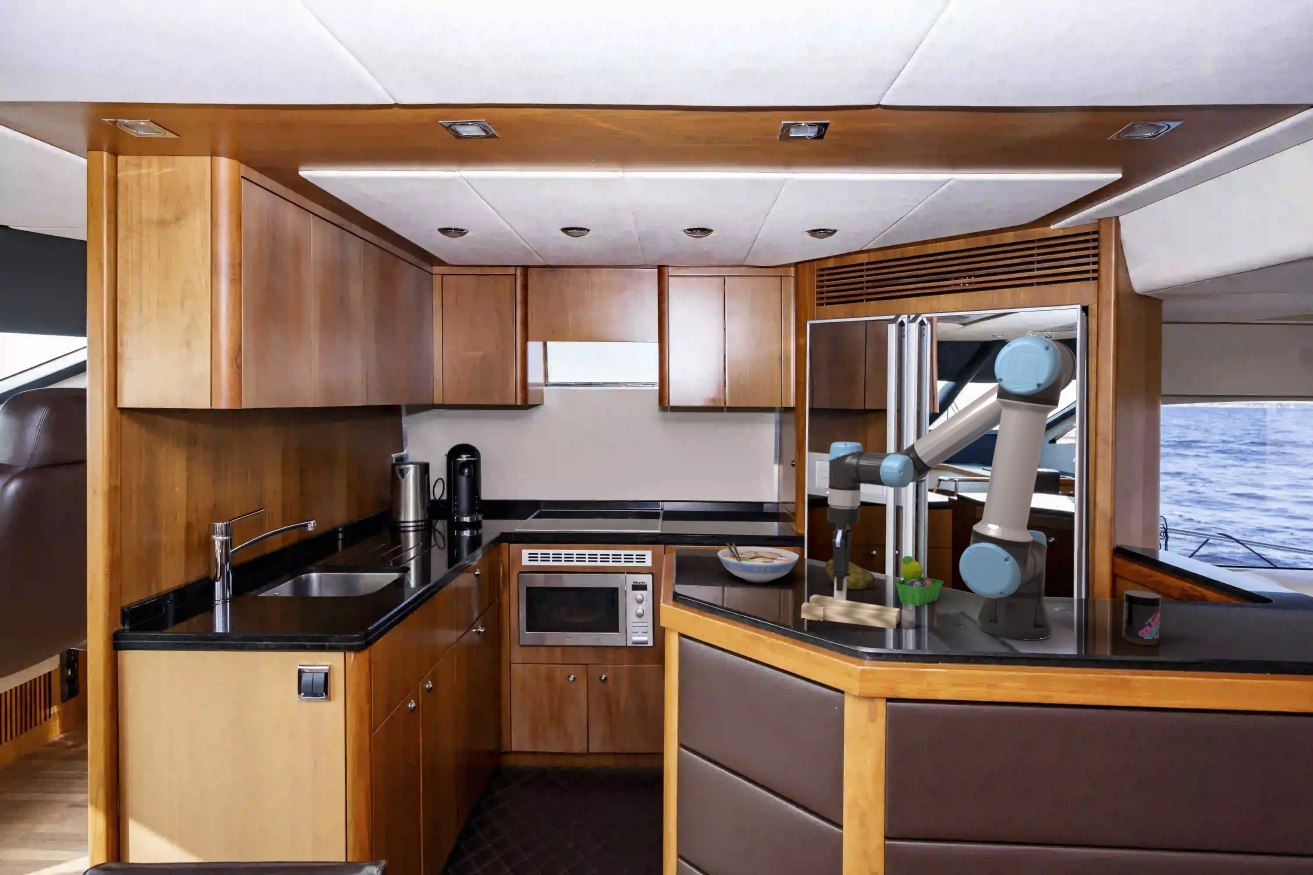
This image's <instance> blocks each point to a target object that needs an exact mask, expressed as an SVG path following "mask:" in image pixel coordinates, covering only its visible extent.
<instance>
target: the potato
mask: <svg viewBox="0 0 1313 875" xmlns="http://www.w3.org/2000/svg"><path fill="white" fill-rule="evenodd" d="M824 570H825V573H826V576H827V578H828V579H829V580H830V581H831V582H833V583H834V582H835V577H832V576H831V574H832V573H833V558H830V559H829V560H828V561H826V563H825V565H824ZM848 573H850V576H846V577H847V589H849V590H866V589H867V590H868V589H870V588H872V587H873V586H874V584H875V582H876V580H875V575H874V574H873V573H872V572H871V571H868V569H864V568H863V567H860V566H858V565H856V564H855V563H853V562H852V561H850V560H849V571H848Z"/></svg>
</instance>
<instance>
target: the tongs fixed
mask: <svg viewBox="0 0 1313 875" xmlns="http://www.w3.org/2000/svg"><path fill="white" fill-rule="evenodd" d="M800 611H801V614H800V618H801V619H802V618H805V620H810V619H811V620H812V621H818V620H820V622H823V621H829V622H835V623H836V622H837V623H843V624H844V623H845V624H854V625H861V626H862V625H863V626H870V627H878V628H887V629H895V630H896V628H897V624H896V623H897V613H891V612H882V611H874V610H865V609H857V608H848V607H839V606H831V605H822V604H813V603H810V602H806V601H805V602H803V603H802V605H801V610H800ZM915 619H916V610H914V609H909V608H903V609H901V628H903V629H906V630H914V629H915V628H916V627H915V626H916V624H915V621H916V620H915Z"/></svg>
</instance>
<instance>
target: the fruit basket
mask: <svg viewBox="0 0 1313 875" xmlns="http://www.w3.org/2000/svg"><path fill="white" fill-rule="evenodd" d="M900 563H901V568H900V574H901V577H902V578H903V579H902V580H899V581H895V586H896V588H897V592H898V596H899V600H900V603H905V604H908V605H912V606H917V607H920V606H922V605H927V604H930V603H932V602H936V601H938V599H939V598H938V597H939V594H940V592H941V588H942V586H943V584H944V581H943V580H940V579H934V578H929V577H927V576H923V573H924V568H923V566H922V564H920V563H919V562H918V561H917V560H916V559H915V558H913V557H912V555H911V556H910V555H906V556H905V555H904V556H903V557H902V559H901V562H900Z"/></svg>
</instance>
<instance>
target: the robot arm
mask: <svg viewBox="0 0 1313 875" xmlns="http://www.w3.org/2000/svg"><path fill="white" fill-rule="evenodd" d="M1077 366H1078V365H1077V358H1076V356H1075V355H1074V353H1073V351H1072V350H1071V348H1069V347H1068V346H1067V345H1066V344H1064V343H1062V342H1060V341H1058V340H1054V339H1050V338H1047V337H1045V336H1044V337H1043V336H1038V335H1034V336H1033V335H1027V336H1021V337H1018V338H1015V339H1014V340H1011V341H1009V342H1008V343H1007V344H1006V345H1004V347H1002V348H1001V350H1000V351H999V352H998V354H997V356H996V359H995V362H994V375H995V377H996V380H997V382H998V383H997V384H996V385H995V386H993V387H992V388H990V389H989V390H987V391H986V392H984V393H982V394H981V395H980V396H979V397H977V398H976V399H974V400H973V401H972V402H970V403H969V404H967V405H966V406H964V407H963V408H962V409H960V410H959V411H958V412H956V413H954V414H953V415H952V416H950V417H948V418H947V419H946V420H944V421H943V422H942V423H941V424H939V425H937V426H936V427H934V428H933V429H932V430H930V431H929V432H928V433H926V434H924V435H923V436H922V437H920V438H919V439H917V440H916V441H915V442H914V443H912V444H910V445H909V446H908V447H906V448H905V449H903V450H902V451H897V452H887V453H886V452H883V453H882V452H867V451H863V445H862V444H861V443H860V442H854V441H852V442H851V441H834V442H832V443H831V445H830V448H829V455H828V456H829V459H828V490H827V491H825V495H826V496H827V497H828V498H827V504H828V505H829V506H828V507H826V508H827V513H826V520H827V522H828V523H830V524H835V529H834V530H833V531H832V541H831V542H832V559H833V573H832V574H831V576H832V577H835V582H833V583H834V586H833V588H834V589H833V590H834V591H833V597H834V599H840V600H846V601H847V589H848V588H847V577H846V576H850V573H848V571H849V561H850V556H851V555H850V554H851V545H852V544H851V542H852V536H853V530H852V529H851V526H853V525H857V524H859V522H860V508H859V506H861V491H862V490H861V486H862V485H863V484H864V485H865V484H866V485H873V486H882V487H889V488H892V489H893V488H901V489H903V488H907V487H908V486H909V485H910V483H917V482H918V481H921V480H922V479H924V478H926V477H927V475H928V474H929V472H930V471H932V470H933V469H934V468H936V467H937V466H938V465H940V464H942V463H943V462H945V461H946V460H948V459H950V457H952V456H954V455H956V454H957V453H958V452H960V451H962V449H964V448H966V447H968V446H969V445H970V444H972V443H974V442H975V441H977V440H978V439H980V438H981V437H983V436H984V435H986V434H987V433H989V432H990V431H992V430H993V429H995V428H996V427H998V430H997V434H996V435H997V437H996V440H995V446H994V452H993V459H992V465H991V468H990V470H991V471H990V475H989V480H988V487H987V492H986V497H985V502H984V509H983V514H982V519H981V520H980V521H979V522H978V523H976V524H974V525H973V526H972V530H971V536H970V541H969V546H968V547H966V549H965V550H964V551H963V553H962V554H961V556H960V559H959V564H958V567H959V574H960V576H961V578H962V581H963V582H964V583H965V585H966V586H967V587H968V588H969V589H970V590H971V591H972V592H974V593H975V594H976V595H978V596H981V597H984V599H983V601H982V602H983V603H982V605H981V607H980V609H979V613H978V614H977V623H976V626H977V628H978V629H979V630H980V631H983V632H985V633H987V634H990V635H993V636H996V637H1001V638H1005V639H1006V638H1007V639H1012V638H1014V639H1013V640H1020V639H1040V638H1045V637H1048V636H1050V635H1051V636H1052V630H1053V629H1052V628H1053V627H1052V626H1053V625H1052V621H1051V619H1050V616H1049V613H1048V609H1047V608H1048V607H1047V605H1046V603H1045V582H1046V563H1047V561H1046V559H1047V557H1046V556H1047V549H1048V545H1047V537H1046V535H1045V533H1044V532H1042V531H1037V530H1031V529H1030V530H1029V529H1028V528H1027V526H1028V522H1029V516H1030V512H1031V507H1032V502H1033V501H1032V500H1033V495H1034V491H1035V486H1036V480H1037V475H1038V470H1039V464H1040V459H1041V453H1042V448H1043V443H1044V437H1045V432H1046V428H1047V422H1048V417H1049V415H1050V414H1051V413H1052V412H1053V411H1055V410H1057V409H1058V408H1059V404H1060V398H1061V392H1062V391H1063V390H1065V389H1066V388H1068V386H1070V384H1072V382H1073V380H1074V378H1075V377H1076V373H1077ZM861 484H862V485H861ZM1051 636H1050V637H1051Z"/></svg>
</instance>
